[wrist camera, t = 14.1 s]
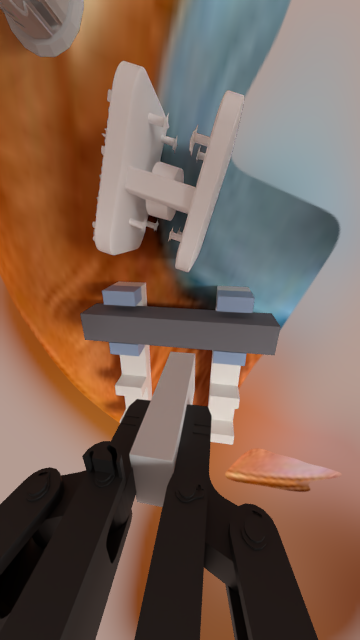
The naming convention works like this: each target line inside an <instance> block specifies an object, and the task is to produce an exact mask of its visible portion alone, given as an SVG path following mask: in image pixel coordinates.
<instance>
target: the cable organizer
mask: <svg viewBox="0 0 360 640" xmlns="http://www.w3.org/2000/svg"><path fill="white" fill-rule="evenodd" d="M107 101H108V102H110V107H109V109H108V112H109V116H108V119H107V128H106V129H104V130H106V134H102V135H103V136H104V137H105V146H102V148H101V153H102V155H103V156H104V157H103V161H102V163H103V165H102V167H101V171H102V173H101V175H99V176H100V179H101V181H100V183H99V186H100V189H99V192H98V195H99V196H98V197H97V198H96V199H98V200H97V201H98V204H97V212H96V222H93V224H92V226H93V228H95V230H94V233H93V234H94V236H93V241H95V244H96V247H97V249H98V250H99V251H102V252H105V253H108V254H110V255H117V254H121V253H125V252H128V251H132V250H136V249H138V248H139V246H140V245H141V243H142V240H143V237H144V234H145V230H146V226H147V227H150V228H153V229H154V231H155V230H156V232H157V227H158V225H159V223H158V220H157V223H153V222H150V221H147V220H148V215H151V216H154V217H158V218H162V219H165V220H169V221H171V220H172V219H173V217H174V215H175V212H176V210H177V211H180V212H183V213H186V214H188V216H187V220H186V223H185V227H184V230H183V233H182V232H180V228H179V230H178V231H177V234H176V233H173V232H174V231H173V228H172V230H171V231H170V235H169V239H168V241H169V240H170V241H171V239H173V240H176V241H179V242H180V244H179V248H178V252H177V256H176V263H175V267H176V269H179V270H182V271H185V272H189V271H190V269H191V268H192V266H193V264H194V262H195V261H196V259H197V257H198V255H199V252H200V250H201V247H202V244H203V241H204V238H205V235H206V232H207V229H208V225H209V222H210V219H211V216H212V213H213V210H214V207H215V204H216V201H217V198H218V195H219V192H220V189H221V186H222V183H223V180H224V177H225V174H226V171H227V168H228V165H229V162H230V159H231V155H232V152H233V148H234V144H235V139H236V135H237V131H238V127H239V123H240V118H241V114H242V110H243V105H244V95H241V94H238V93H235V92H232V91H229V90H227V91H226V93H225V94H224V96H223V99H222V101H221V104H220V106H219V109H218V112H217V115H216V119H215V122H214V126H213V129H212V133H211V136H210V137H208V136H205V135H201V134H198V133H197V128H198V125H197V127H196V129H195V131H193V134H192V137H191V139H190V148H189V152H190V151H191V155H192V151H193V147H194V144H195V143H197V144H201V145H204V146H207V150H206V153H203V152H200V148H201V146H200V148H198V152H197V157H196V159H197V162H198V159H200V160H203V164H202V167H201V171H200V174H199V178H198V181H197V185H196V187H193V186H190V185H187V184H184V173H183V170H182V169H181V168H178V167H175V166H172V165H169V164H166V163H163V162H160V160H161V155H162V150H163V146H164V144H167V145H170V146H173V149H172V150H174V154H175V150H176V147H177V146H178V145H177V137H176V139H175V138H171V137H168V136H166V132H167V129H168V128H169V124H168V115H167V117H166V116H165V113H164V111H163V109H162V107H161V104H160V102H159V100H158V97H157V95H156V93H155V91H154V88H153V86H152V84H151V81H150V79H149V77H148V75H147V72H146V70H145V68H144V67H142V66H138V65H135V64H132V63H129V62H126V61H122V62H121V63H120V64H119V66H118V68H117V70H116V73H115V76H114V80H113V85H112V90H110V89H108V97H107ZM168 114H169V113H168Z"/></svg>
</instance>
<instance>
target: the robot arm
mask: <svg viewBox="0 0 360 640" xmlns="http://www.w3.org/2000/svg"><path fill="white" fill-rule="evenodd" d="M194 391H195V354H192V353H179V352H170V355H169V357H168V360H167V362H166V365H165V367H164V369H163V372H162V374H161V377H160V379H159V382H158V384H157V387H156V389H155V392H154V394H153V397H152V399H151V401H150V400H142V399H136V400H135V401H134V402H133V403H132V404H131V405H130V406H129V407H128V409H127V411H126V413H125V415H124V417H123V419H122V421H121V423H120V425H119V427H118V429H117V431H116V433H115V435H114V436H113V438H112V440H111V442H110V441H103V442H100V443H98V444H95V445H93V446H92V447H91V448H89V449H88V450H87V451H86V452H85V454H84V455H83V460H84V463H85V467H86V471H82V472H78V473H73V474H68V475H62V476H61V475H60V473H59V472H58V470H57V469H54V468H45V469H41V470H39V471H37V472H35V473H33V474H32V475H31V476H29V477H28V478H27V479H26V480H25V481H24V482H23V483H22V484H21V485H20V486H18V487H17V488H16V489H15V491H13V492H12V493H11V494H10V495H9V497H7V498H6V500H4V501H3V502H2V503H1V504H0V640H95V639H96V635H97V632H98V629H99V625H100V622H101V619H102V616H103V612H104V609H105V606H106V603H107V599H108V596H109V592H110V589H111V586H112V582H113V579H114V576H115V573H116V569H117V566H118V563H119V560H120V556H121V553H122V550H123V547H124V543H125V540H126V537H127V533H128V530H129V527H130V523H131V519H132V510H131V508H132V505H133V501H134V498H135V495H136V499H137V502H140V503H146V504H150V505H155V506H161V507H163V508H162V512H161V518H160V522H159V526H158V531H157V536H156V541H155V545H154V550H153V555H152V559H151V565H150V569H149V574H148V579H147V583H146V588H145V592H144V597H143V602H142V607H141V612H140V616H139V621H138V626H137V630H136V636H135V640H200V626H201V607H202V589H203V588H202V587H203V571H204V568H206V569H207V570H208V571H209V572H211V573H212V574H213V575H215V576H216V577H217V578H218V579H220V580H221V581H222V582H224V583H225V584H226V590H227V596H228V601H229V608H230V613H231V620H232V625H233V631H234V637H235V640H318V638H317V635H316V633H315V630H314V627H313V624H312V622H311V619H310V616H309V614H308V611H307V608H306V606H305V603H304V600H303V597H302V595H301V592H300V589H299V587H298V584H297V581H296V579H295V576H294V573H293V571H292V568H291V565H290V563H289V560H288V557H287V555H286V552H285V549H284V546H283V544H282V541H281V538H280V536H279V533H278V530H277V528H276V526H275V524H274V522H273V520H272V519H271V518H270V516H269V515H268V514H267V513H266V512H265V511H264V510H263V509H261V508H259V507H258V506H256V505H253V504H243V505H240V506H237V505H235V504H234V503H232V502H230V501H229V500H227V499H225V498H224V497H222V496H221V495H220V494H219V493H218V492H217V491H216V490H215V489H214V487H213V485H212V483H211V480H210V477H209V458H210V439H211V420H212V415H211V413H210V411H209V408H208V407H207V406H198V405H192V403H193V397H194Z"/></svg>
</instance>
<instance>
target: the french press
mask: <svg viewBox="0 0 360 640" xmlns="http://www.w3.org/2000/svg"><path fill="white" fill-rule="evenodd" d="M0 9H1V10H2V11H3V12H4V14H5V16H6V19H7V21H8V23H9V26H10V28H11V31H12V32H13V33H14V34H15V36H16V37H17V38H18V40H19V41H20V42H21V43H22V45H23V46H24V47H25V48H26V49H28V50H30V51H31V52H33V53H35V54H36V55H38V56H40V57H56V56H58V55H59V54H61V53H62V52H64V51H65V50H67V49H68V48H69V47H70V46H71V44H72V42H73V40H74V39H75V37H76V35H77V34H78V32H79V29H80V24H81V19H82V14H83V9H84V0H0Z"/></svg>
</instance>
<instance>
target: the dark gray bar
mask: <svg viewBox="0 0 360 640" xmlns="http://www.w3.org/2000/svg"><path fill="white" fill-rule="evenodd" d="M80 315H81V321H82V326H83V331H84V337H85V340H94V341H106V342H118V343H130V344H143V345H155V346H167V347H179V348H191V349H204V350H216V351H228V352H240V353H253V354H265V355H275V351H276V346H277V340H278V336H279V331H280V325H279V324H278V322H277V321H276V319H275V318H274V316H273V315H272V314H271V313H254V312H253V313H240V312H223V311H217V310H202V309H185V308H167V307H150V306H120V305H104V304H98V303H96V304H95V305H93V306H92V307H90V308H89V309H87V310H85V311H84V312H82V313H81V314H80Z"/></svg>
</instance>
